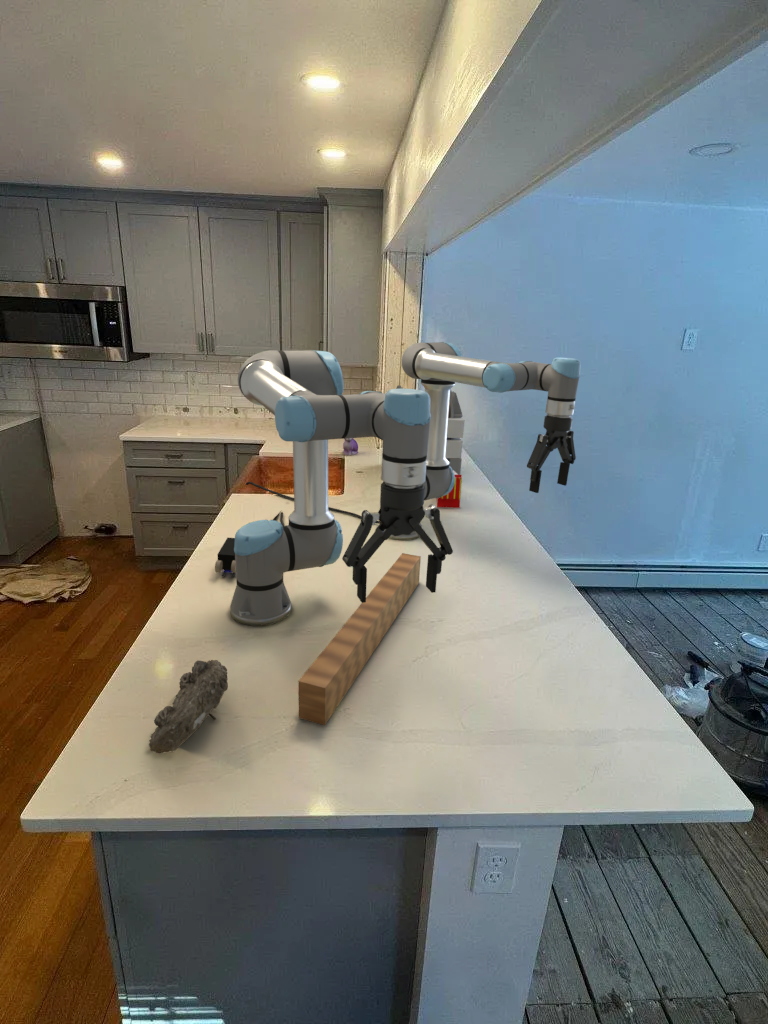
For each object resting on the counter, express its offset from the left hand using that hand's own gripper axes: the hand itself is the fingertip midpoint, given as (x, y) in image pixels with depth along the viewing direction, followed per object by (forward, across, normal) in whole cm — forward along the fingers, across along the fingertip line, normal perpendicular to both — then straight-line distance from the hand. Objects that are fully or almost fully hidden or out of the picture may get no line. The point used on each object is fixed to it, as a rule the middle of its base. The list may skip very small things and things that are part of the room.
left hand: (396, 594), depth 103 cm
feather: (+26, 0, +115) cm, 118 cm away
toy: (+26, +70, +119) cm, 141 cm away
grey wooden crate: (+26, +76, +156) cm, 176 cm away
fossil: (+26, -36, +9) cm, 45 cm away
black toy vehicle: (+26, -22, +72) cm, 80 cm away
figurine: (+26, +54, +200) cm, 208 cm away
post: (+26, +5, +26) cm, 37 cm away
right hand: (-2, +66, +46) cm, 80 cm away
